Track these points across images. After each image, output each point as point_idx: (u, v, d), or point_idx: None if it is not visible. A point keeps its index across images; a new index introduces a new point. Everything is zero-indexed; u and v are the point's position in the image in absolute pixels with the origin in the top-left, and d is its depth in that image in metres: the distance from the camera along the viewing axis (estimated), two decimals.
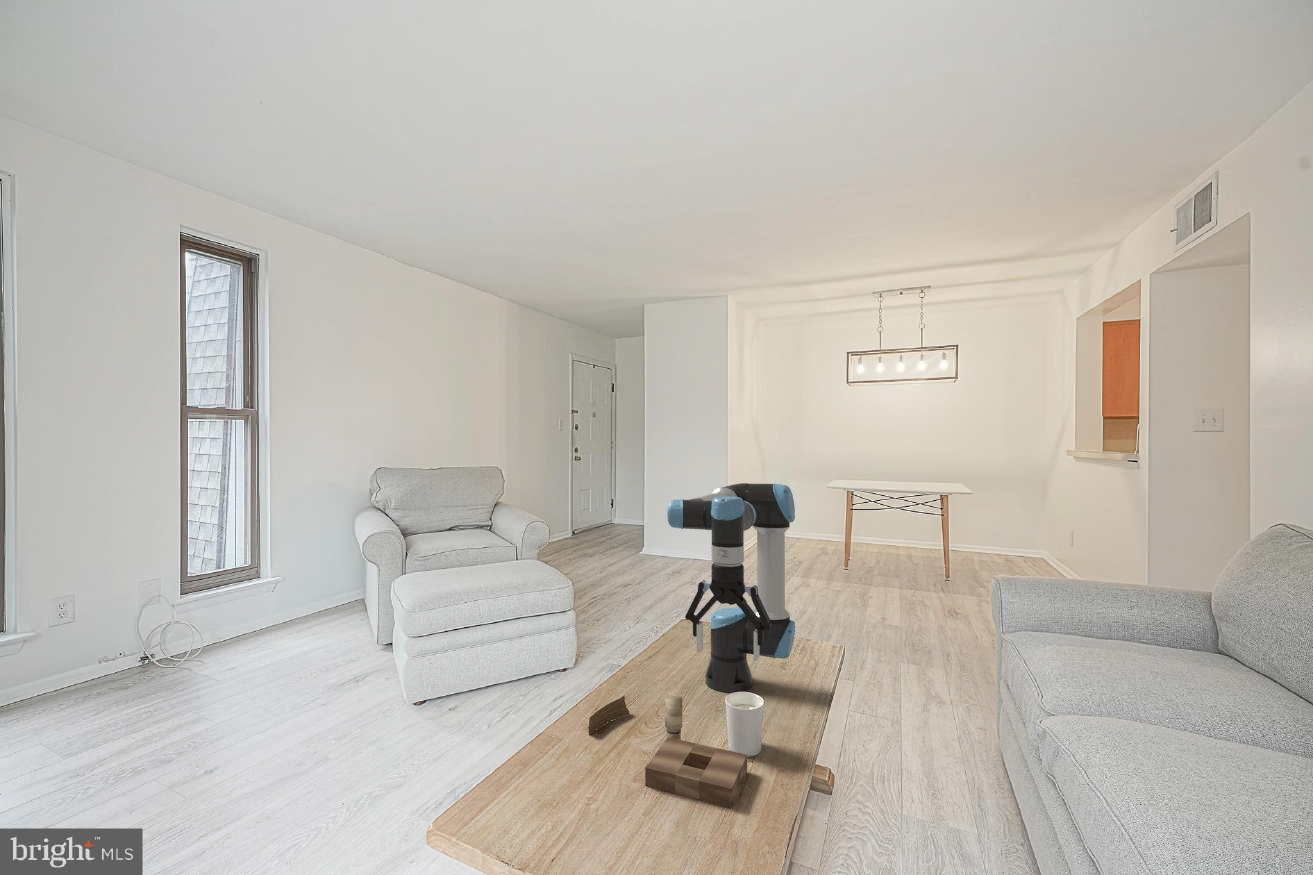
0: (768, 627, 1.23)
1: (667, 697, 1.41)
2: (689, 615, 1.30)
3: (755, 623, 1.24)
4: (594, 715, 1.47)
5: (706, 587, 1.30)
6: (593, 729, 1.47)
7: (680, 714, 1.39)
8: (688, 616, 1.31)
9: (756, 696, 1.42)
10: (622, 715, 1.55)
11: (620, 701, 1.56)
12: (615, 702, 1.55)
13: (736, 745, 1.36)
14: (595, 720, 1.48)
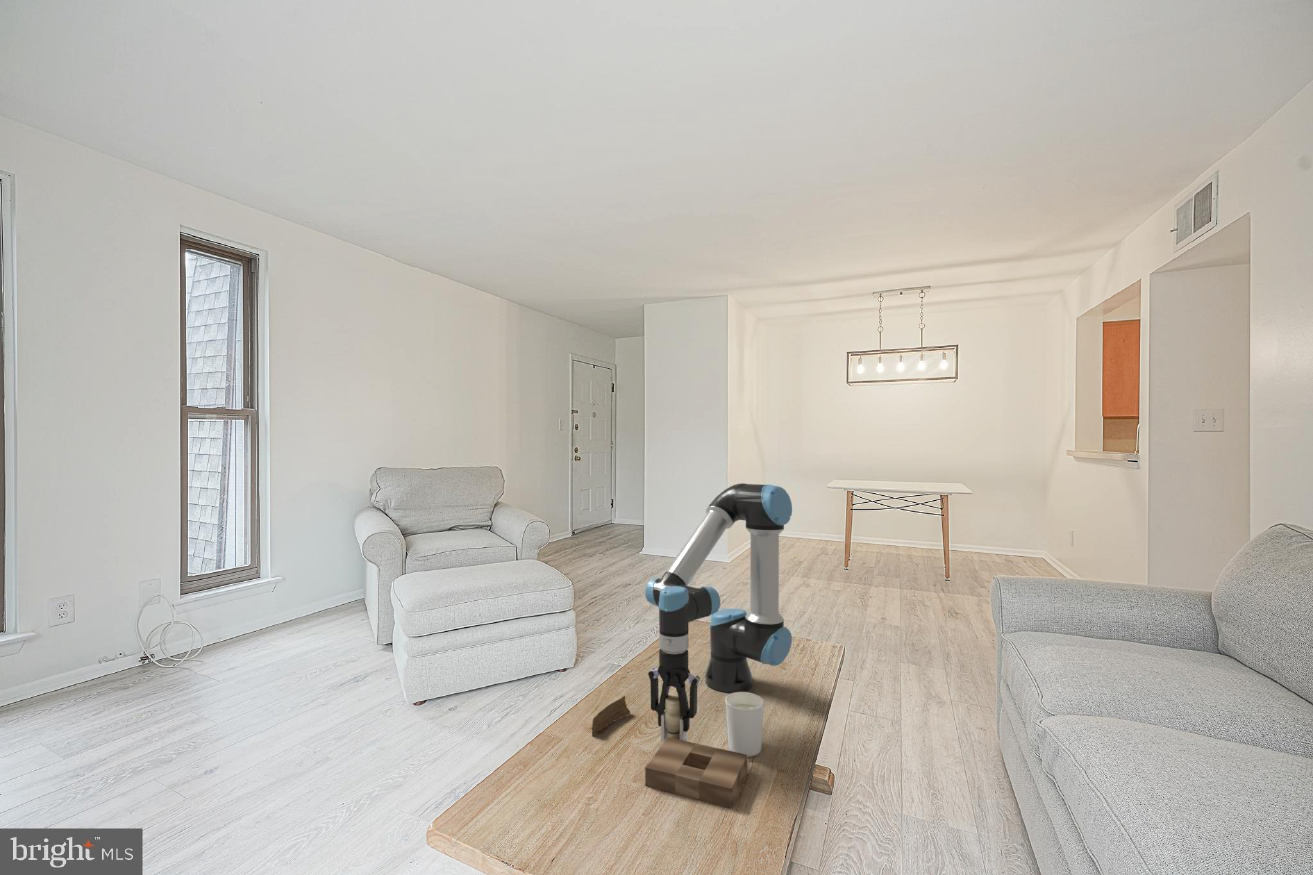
0: (692, 716, 1.37)
1: (667, 697, 1.41)
2: (653, 705, 1.41)
3: (683, 711, 1.38)
4: (597, 716, 1.47)
5: (656, 673, 1.42)
6: (596, 730, 1.47)
7: (680, 714, 1.39)
8: (653, 707, 1.41)
9: (756, 696, 1.42)
10: (623, 715, 1.55)
11: (621, 701, 1.56)
12: (616, 702, 1.55)
13: (736, 745, 1.36)
14: (598, 721, 1.48)
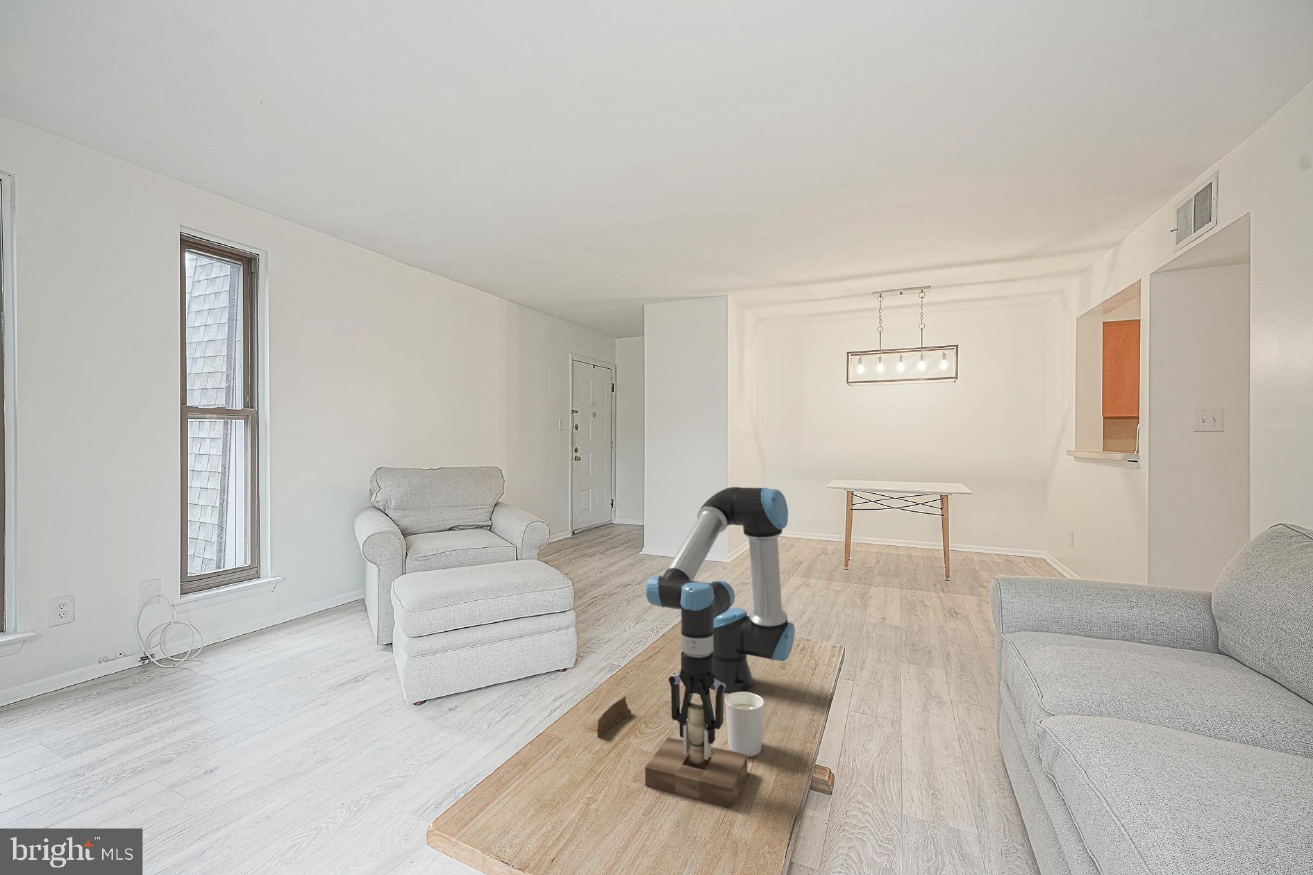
0: (718, 727, 1.23)
1: (690, 705, 1.27)
2: (674, 714, 1.27)
3: (708, 720, 1.24)
4: (602, 717, 1.46)
5: (677, 679, 1.28)
6: (601, 731, 1.46)
7: (704, 724, 1.25)
8: (674, 716, 1.27)
9: (756, 696, 1.42)
10: (625, 715, 1.55)
11: (622, 701, 1.56)
12: (618, 703, 1.55)
13: (736, 745, 1.36)
14: (603, 722, 1.47)
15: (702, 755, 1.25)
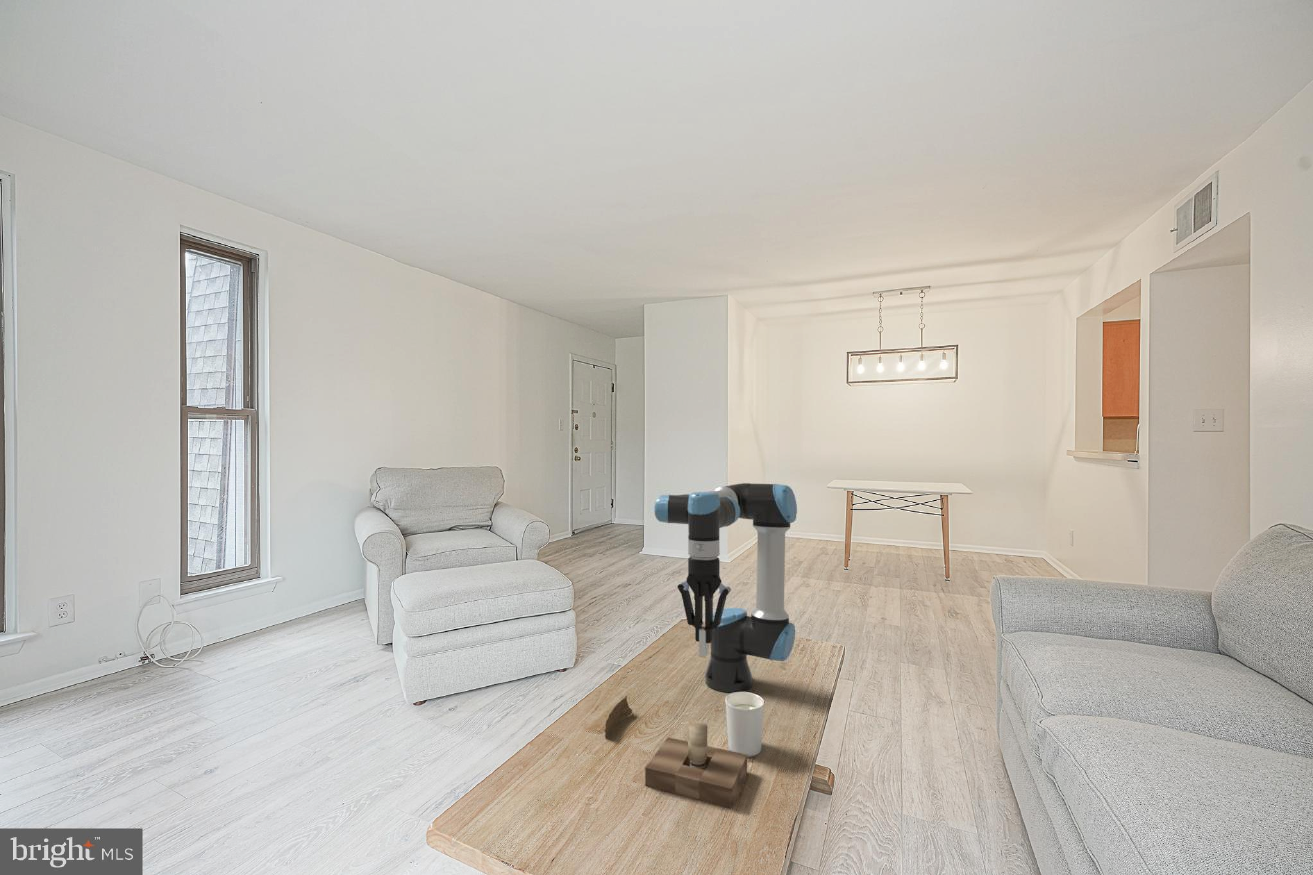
0: (715, 626, 1.29)
1: (690, 725, 1.27)
2: (690, 619, 1.32)
3: (707, 621, 1.30)
4: (608, 718, 1.46)
5: (686, 585, 1.33)
6: (607, 732, 1.46)
7: (705, 744, 1.25)
8: (690, 621, 1.32)
9: (756, 696, 1.42)
10: (627, 715, 1.56)
11: (624, 701, 1.56)
12: (620, 702, 1.55)
13: (736, 745, 1.36)
14: (609, 723, 1.47)
15: None
